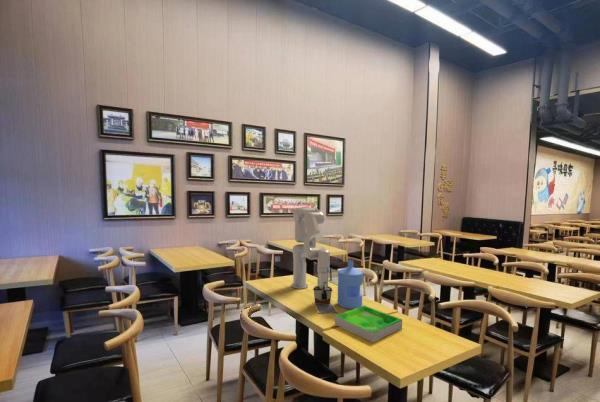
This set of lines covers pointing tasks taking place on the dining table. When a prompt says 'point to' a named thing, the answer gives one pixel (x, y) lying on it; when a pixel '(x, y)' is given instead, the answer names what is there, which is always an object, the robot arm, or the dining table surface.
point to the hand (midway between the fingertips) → (322, 297)
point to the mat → (325, 308)
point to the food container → (319, 295)
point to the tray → (368, 323)
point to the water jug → (349, 287)
